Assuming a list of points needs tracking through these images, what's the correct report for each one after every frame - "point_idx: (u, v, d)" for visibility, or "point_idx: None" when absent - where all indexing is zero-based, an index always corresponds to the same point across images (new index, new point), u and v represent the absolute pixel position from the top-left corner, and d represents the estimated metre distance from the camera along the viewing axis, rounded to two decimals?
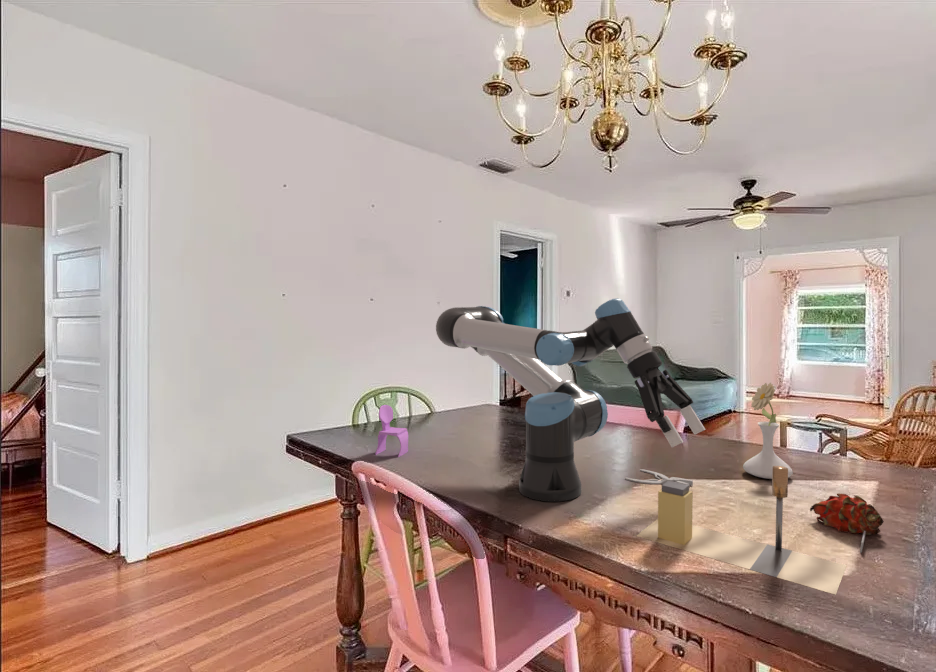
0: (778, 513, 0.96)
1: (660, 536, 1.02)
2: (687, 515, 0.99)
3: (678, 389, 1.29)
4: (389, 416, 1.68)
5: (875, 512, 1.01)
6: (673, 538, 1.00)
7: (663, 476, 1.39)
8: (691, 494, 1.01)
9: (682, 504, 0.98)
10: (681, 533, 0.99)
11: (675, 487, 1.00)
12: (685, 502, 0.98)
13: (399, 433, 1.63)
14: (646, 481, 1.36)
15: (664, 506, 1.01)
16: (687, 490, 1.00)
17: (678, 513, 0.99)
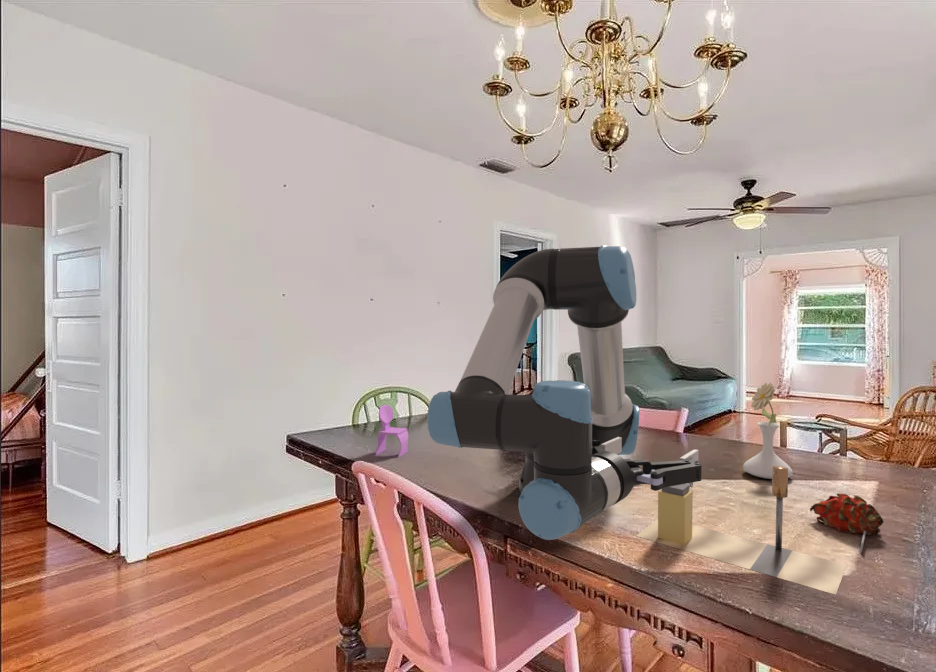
0: (778, 513, 0.96)
1: (660, 536, 1.02)
2: (687, 515, 0.99)
3: None
4: (389, 416, 1.68)
5: (875, 512, 1.01)
6: (673, 538, 1.00)
7: None
8: (691, 494, 1.01)
9: (682, 504, 0.98)
10: (681, 533, 0.99)
11: (675, 487, 1.00)
12: (685, 502, 0.98)
13: (399, 433, 1.63)
14: None
15: (664, 506, 1.01)
16: (687, 490, 1.00)
17: (678, 513, 0.99)
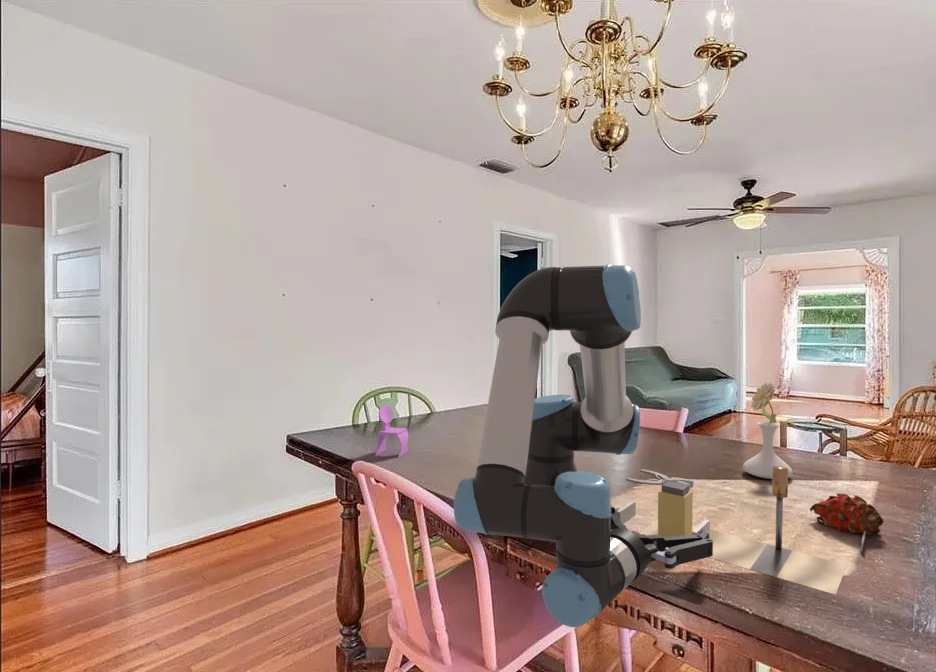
0: (778, 513, 0.96)
1: None
2: (687, 515, 0.99)
3: None
4: (389, 416, 1.68)
5: (875, 512, 1.01)
6: None
7: (664, 476, 1.39)
8: (691, 494, 1.01)
9: (682, 504, 0.98)
10: (681, 533, 0.99)
11: (675, 487, 1.00)
12: (685, 502, 0.98)
13: (399, 433, 1.63)
14: (647, 481, 1.36)
15: (664, 506, 1.01)
16: (687, 490, 1.00)
17: (678, 513, 0.99)
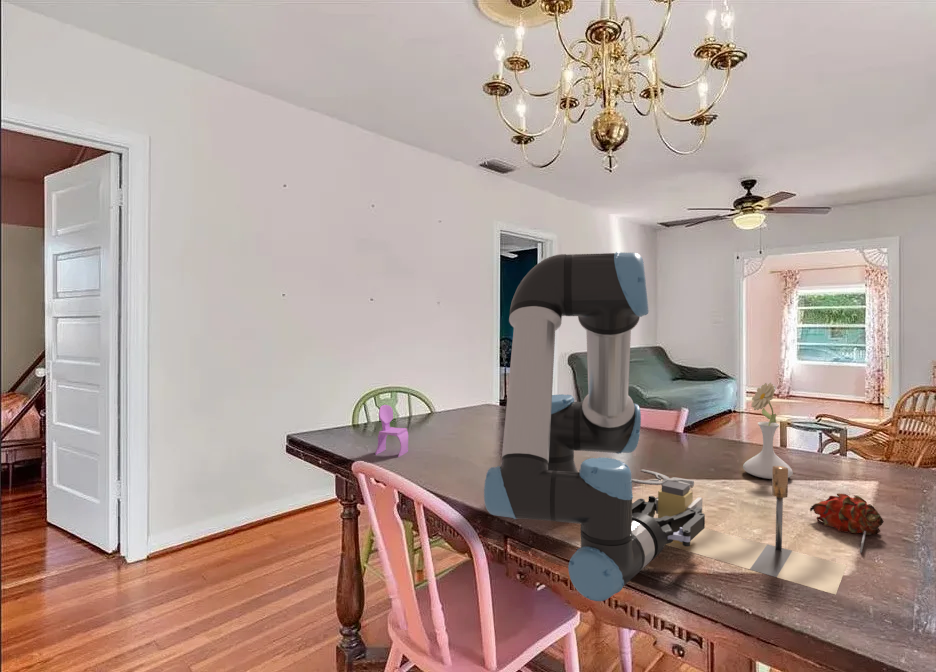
0: (778, 513, 0.96)
1: None
2: None
3: None
4: (389, 416, 1.68)
5: (875, 512, 1.01)
6: None
7: (664, 476, 1.39)
8: (691, 494, 1.01)
9: (682, 504, 0.98)
10: None
11: (675, 487, 1.00)
12: (685, 502, 0.98)
13: (399, 433, 1.63)
14: (647, 481, 1.36)
15: (664, 506, 1.01)
16: (687, 490, 1.00)
17: (678, 513, 0.99)
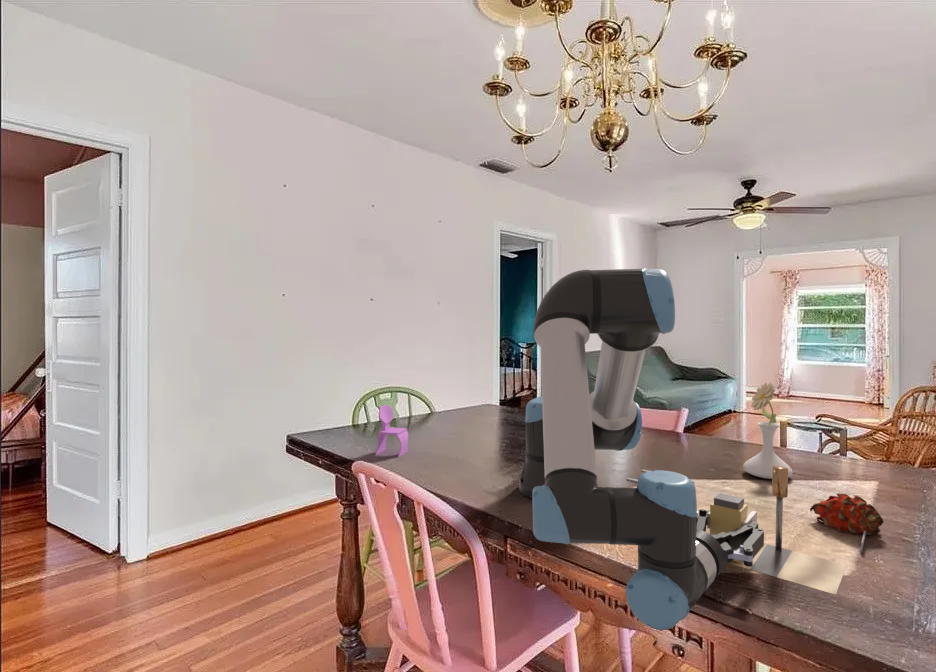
0: (778, 513, 0.96)
1: None
2: None
3: None
4: (389, 416, 1.68)
5: (875, 512, 1.01)
6: None
7: None
8: (746, 508, 0.93)
9: (738, 519, 0.91)
10: None
11: (729, 500, 0.93)
12: (741, 517, 0.91)
13: (399, 433, 1.63)
14: None
15: (717, 520, 0.93)
16: (742, 504, 0.93)
17: (732, 528, 0.92)
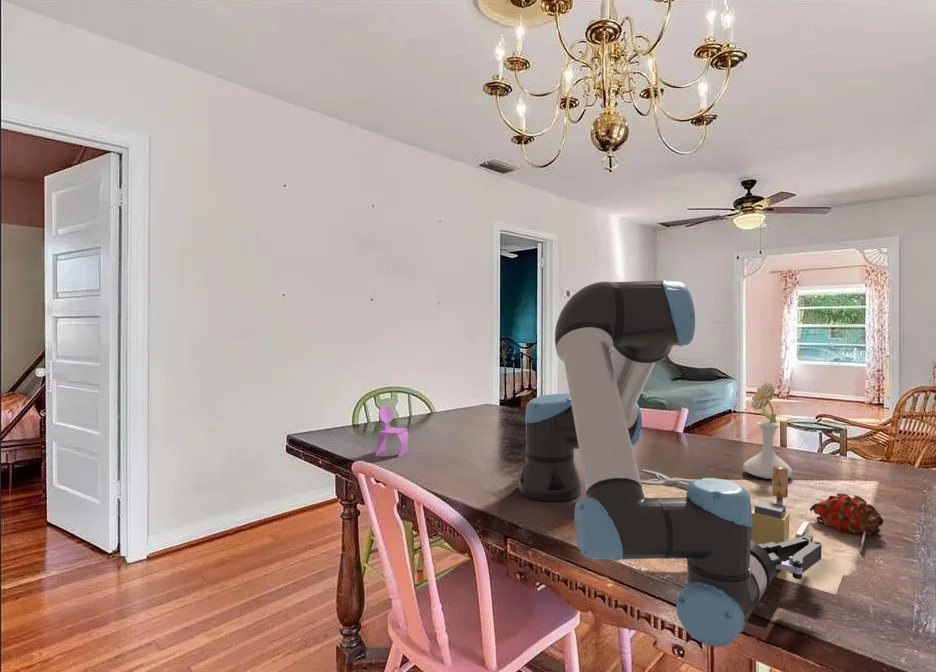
0: None
1: None
2: (785, 540, 0.89)
3: None
4: (389, 416, 1.68)
5: (875, 512, 1.01)
6: None
7: (665, 476, 1.39)
8: (788, 516, 0.90)
9: (781, 528, 0.88)
10: None
11: (771, 508, 0.89)
12: (784, 526, 0.88)
13: (399, 433, 1.63)
14: (648, 482, 1.35)
15: (758, 529, 0.90)
16: (784, 512, 0.90)
17: (775, 537, 0.88)
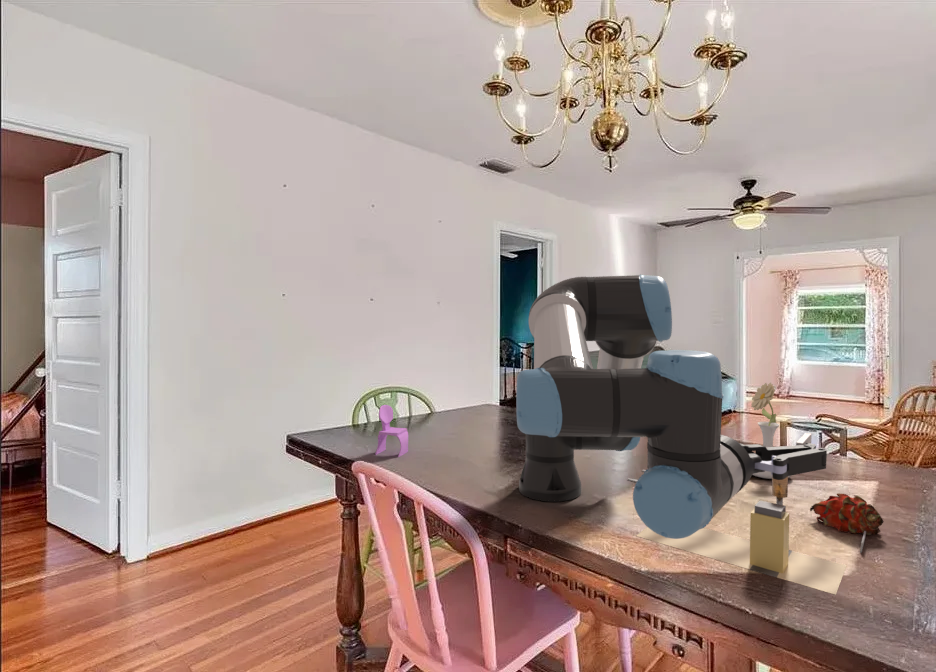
0: None
1: (752, 562, 0.91)
2: (785, 540, 0.89)
3: None
4: (389, 416, 1.68)
5: (875, 512, 1.01)
6: (769, 565, 0.89)
7: None
8: (788, 516, 0.90)
9: (781, 528, 0.88)
10: (779, 560, 0.88)
11: (771, 508, 0.89)
12: (784, 526, 0.88)
13: (399, 433, 1.63)
14: None
15: (758, 529, 0.90)
16: (784, 512, 0.90)
17: (775, 537, 0.88)
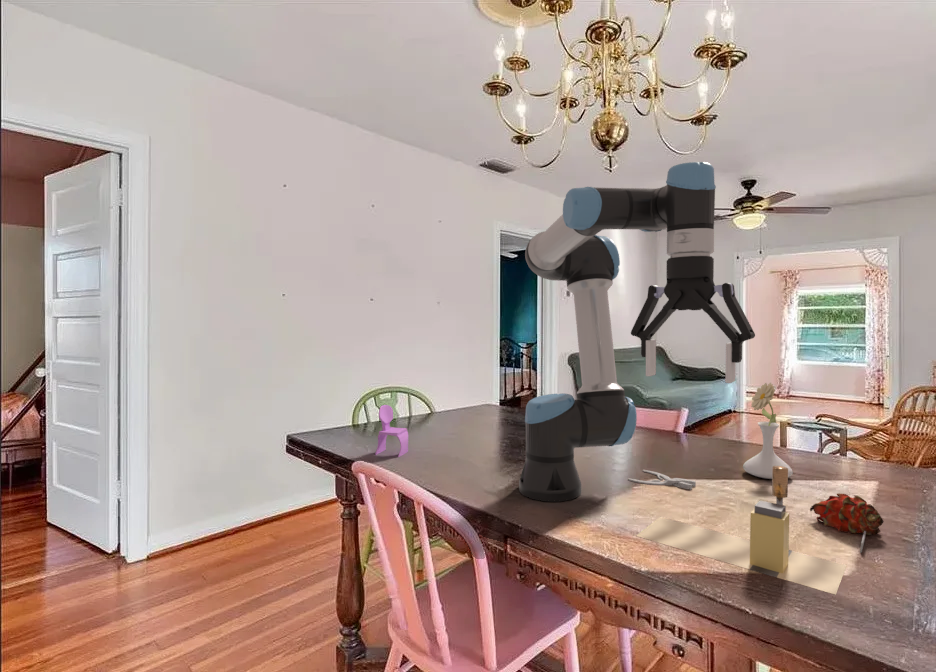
0: None
1: (752, 562, 0.91)
2: (785, 540, 0.89)
3: (733, 316, 0.87)
4: (389, 416, 1.68)
5: (875, 512, 1.01)
6: (769, 565, 0.89)
7: (666, 477, 1.39)
8: (788, 516, 0.90)
9: (781, 528, 0.88)
10: (779, 560, 0.88)
11: (771, 508, 0.89)
12: (784, 526, 0.88)
13: (399, 433, 1.63)
14: (649, 482, 1.35)
15: (758, 529, 0.90)
16: (784, 512, 0.90)
17: (775, 537, 0.88)
